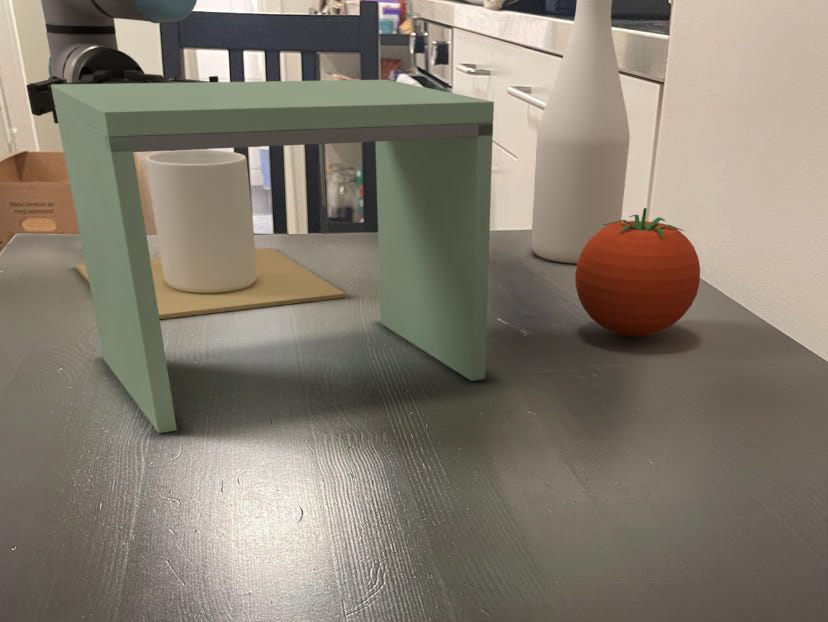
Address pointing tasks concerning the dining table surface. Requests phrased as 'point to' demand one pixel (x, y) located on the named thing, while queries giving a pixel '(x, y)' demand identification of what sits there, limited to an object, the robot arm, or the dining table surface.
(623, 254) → the tomato
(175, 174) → the mug
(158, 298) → the mat
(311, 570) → the dining table surface
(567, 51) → the wine bottle
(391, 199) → the shelf compartment
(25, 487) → the dining table surface
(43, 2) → the robot arm
